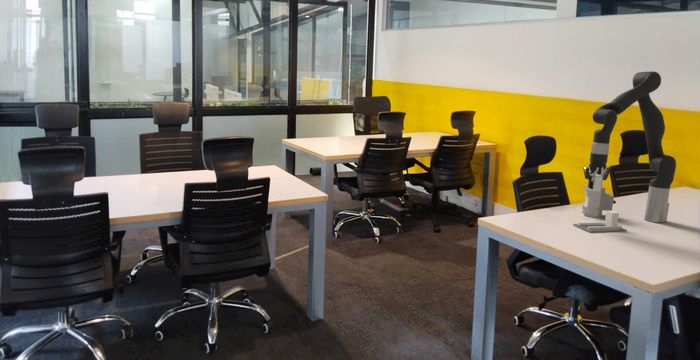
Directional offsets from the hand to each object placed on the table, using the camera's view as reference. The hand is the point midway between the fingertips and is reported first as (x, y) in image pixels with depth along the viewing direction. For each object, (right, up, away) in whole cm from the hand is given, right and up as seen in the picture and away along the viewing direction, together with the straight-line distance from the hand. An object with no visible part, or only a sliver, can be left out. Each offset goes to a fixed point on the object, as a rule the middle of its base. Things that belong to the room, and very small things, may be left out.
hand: (594, 188), depth 285 cm
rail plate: (+2, -19, -1) cm, 19 cm away
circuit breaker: (+11, -14, +24) cm, 30 cm away
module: (0, -1, 0) cm, 1 cm away
